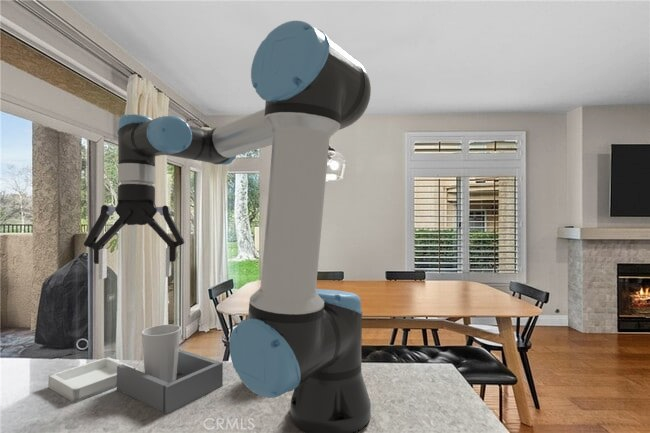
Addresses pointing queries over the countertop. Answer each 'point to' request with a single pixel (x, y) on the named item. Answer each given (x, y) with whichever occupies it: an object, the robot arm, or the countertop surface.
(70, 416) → the countertop surface
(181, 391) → the box
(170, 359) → the cup
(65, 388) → the tray
